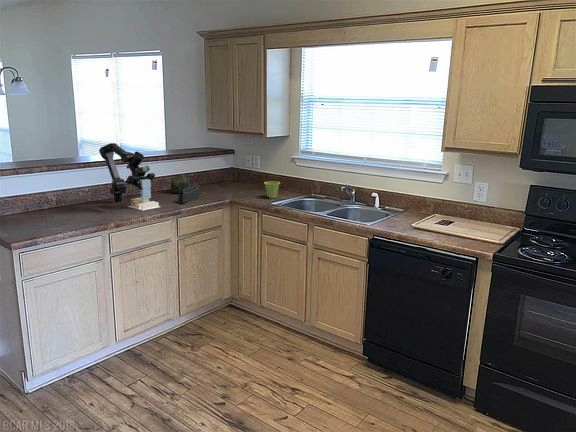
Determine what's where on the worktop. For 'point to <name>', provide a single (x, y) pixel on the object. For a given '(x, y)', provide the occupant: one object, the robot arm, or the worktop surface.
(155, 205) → the rack
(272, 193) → the plant pot
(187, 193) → the magazine
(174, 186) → the squash
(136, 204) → the offcut stack
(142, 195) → the blue rectangular block
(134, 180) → the robot arm
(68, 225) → the worktop surface
